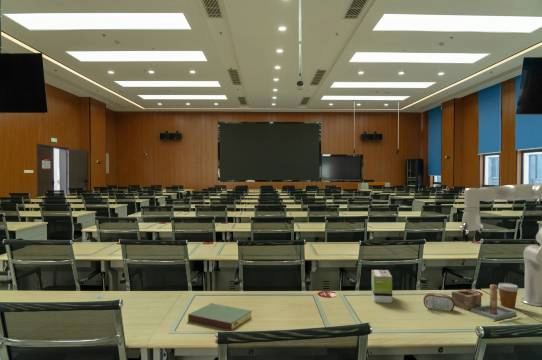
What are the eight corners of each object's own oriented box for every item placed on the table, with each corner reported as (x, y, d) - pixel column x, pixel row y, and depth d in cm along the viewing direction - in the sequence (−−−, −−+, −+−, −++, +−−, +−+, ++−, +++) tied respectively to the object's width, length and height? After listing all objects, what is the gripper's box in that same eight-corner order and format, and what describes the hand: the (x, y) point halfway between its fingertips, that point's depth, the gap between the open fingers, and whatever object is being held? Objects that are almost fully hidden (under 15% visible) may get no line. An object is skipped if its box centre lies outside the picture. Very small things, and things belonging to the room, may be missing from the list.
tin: (454, 311, 209) (454, 295, 209) (454, 313, 207) (454, 297, 206) (423, 307, 216) (423, 291, 216) (423, 309, 213) (423, 293, 213)
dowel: (492, 311, 207) (492, 284, 207) (498, 313, 204) (498, 285, 204) (488, 312, 205) (488, 284, 205) (494, 314, 203) (494, 286, 202)
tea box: (371, 294, 239) (371, 269, 239) (388, 295, 238) (388, 269, 237) (373, 302, 224) (374, 275, 224) (392, 303, 223) (393, 276, 223)
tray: (492, 308, 214) (492, 304, 214) (516, 316, 202) (516, 311, 202) (471, 313, 207) (471, 308, 207) (494, 321, 195) (494, 316, 195)
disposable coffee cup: (521, 311, 211) (521, 288, 210) (501, 310, 213) (501, 287, 212) (514, 305, 220) (514, 283, 220) (494, 304, 222) (495, 282, 222)
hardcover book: (188, 322, 195) (188, 314, 195) (211, 310, 211) (211, 303, 211) (232, 331, 183) (232, 323, 183) (253, 318, 200) (253, 311, 200)
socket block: (464, 304, 222) (464, 289, 221) (481, 309, 213) (481, 294, 212) (451, 306, 217) (451, 291, 217) (467, 312, 208) (468, 297, 208)
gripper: (476, 209, 235) (476, 238, 235) (455, 210, 227) (454, 240, 228) (488, 210, 228) (488, 240, 228) (466, 211, 221) (466, 243, 221)
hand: (471, 240), depth 228 cm, fingers open, 9 cm apart
